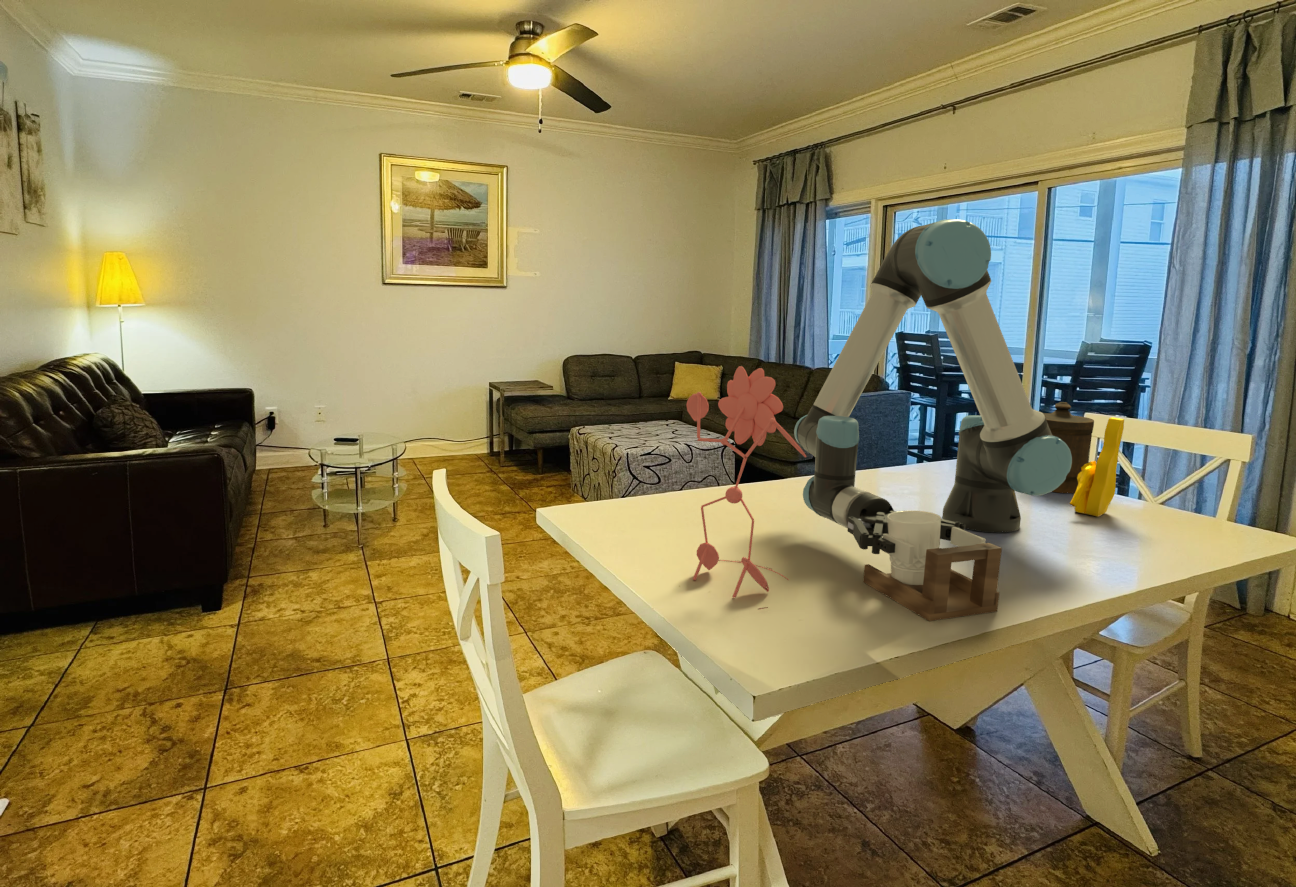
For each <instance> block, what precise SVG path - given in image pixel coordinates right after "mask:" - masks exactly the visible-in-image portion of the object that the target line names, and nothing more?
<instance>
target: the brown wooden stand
mask: <svg viewBox="0 0 1296 887" xmlns="http://www.w3.org/2000/svg"><path fill="white" fill-rule="evenodd" d="M1002 551H1003V548H1002V547H1000V546H998V545H995V544H993V543H991V542H985V543H983V544H976V545H970V546H960V547H958V546H952V547H943V548H941V547H939V548H935V549H926V559H925V570H924V580H923V585H909V584H904V583H902V582H900V581H898V580H896V579H895V578H893V577H891V572H888V573H887V572H884V571H882V570H880V569H878V568H877V567H874V566H873V565H871V564H869V563H868V564H867V563H866V564H864V566H863V567H864V568H863V582H862V583H864V584H866V585H868V586H869V587H870V588H872V589H874V590H876V591H877V592H879V593H881V594H883V595H884V596H886V597H887V598H890V600H893V601H895V602H896V603H898V604H899V605H901V606H903V607H904V608H906V609H907V610H910V611H911V612H913V613H914V614H916V615H918V617H919V616H920V617H921V618H923V619H925V620H926V621H928V622H932V621H940V620H946V619H953V618H954V619H955V618H960V617H966V616H967V617H968V616H974V615H981V614H987V613H994V612H998V606H999V600H1000V591H998V584H999V576H1000V569H1001V568H1000V567H1001V559H1002ZM969 561H973V567H972V578H970V577H969V576H966V575H964V574H962V573H961V572H960V573H959V572H958V571H955V570H954V569H952V564H953V563H960V562H969Z"/></svg>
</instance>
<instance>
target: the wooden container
mask: <svg viewBox="0 0 1296 887" xmlns="http://www.w3.org/2000/svg"><path fill="white" fill-rule="evenodd" d="M1054 408H1055V410H1054V411H1053V412H1051V413H1050V412H1049V413H1045V412H1042V413H1043V414H1044V416H1045V418H1046V421H1047V423H1048V426H1049V428H1050V431H1051V433H1052V435H1053V436H1055V437H1058V438H1060V439H1061V440H1062V441H1063V442H1065V443H1066V444H1067V446H1068V447H1069V449H1070V451H1071V455H1072V465H1071V469H1070V472H1069V473H1068V474H1067V476H1066V479H1065V481H1064V482H1063V483H1062V484H1061V485H1060V486H1059V487H1058V488H1056V489H1055V490H1053V491H1051V492H1050V493H1055V494H1075V492H1076V489H1077V486H1078V480H1077V477H1078V474H1079V473H1080V472H1081V471H1082V470H1081V467H1082V466H1084V465H1085V464H1087V463H1089V462H1090V453H1091V446H1092V445H1091V444H1092V437H1093V436H1092V435H1093V432H1094V425H1095V420H1094V419H1092V418H1090V417H1086V416H1080V415H1074V414H1072V413H1071V412H1070V411H1069V410H1070V409H1071V408H1072V406H1071V405H1070V404H1069V403H1068V402H1066V401H1065V402H1064V401H1059V402H1057V403H1055V406H1054Z"/></svg>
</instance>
